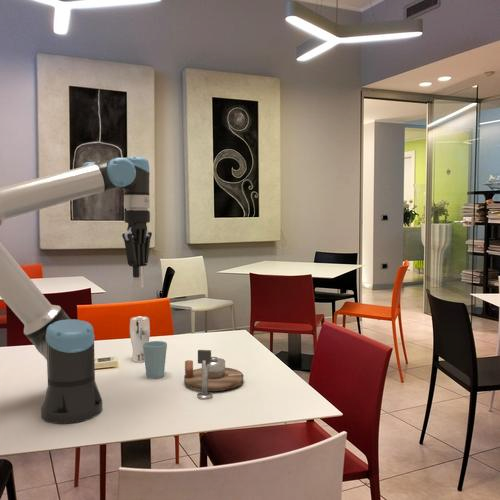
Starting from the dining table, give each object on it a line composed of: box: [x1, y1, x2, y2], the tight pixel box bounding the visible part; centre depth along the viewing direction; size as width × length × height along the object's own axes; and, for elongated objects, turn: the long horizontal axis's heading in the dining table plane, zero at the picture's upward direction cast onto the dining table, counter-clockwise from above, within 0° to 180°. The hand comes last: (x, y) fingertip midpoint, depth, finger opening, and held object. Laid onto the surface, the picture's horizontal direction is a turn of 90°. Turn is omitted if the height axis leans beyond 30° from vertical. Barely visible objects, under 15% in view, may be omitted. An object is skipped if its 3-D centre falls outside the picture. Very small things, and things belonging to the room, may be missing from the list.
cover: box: [207, 356, 226, 379], centre depth 158 cm, size 7×7×6 cm
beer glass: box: [129, 315, 151, 363], centre depth 183 cm, size 7×7×15 cm
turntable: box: [183, 360, 244, 392], centre depth 158 cm, size 18×18×6 cm
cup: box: [143, 340, 168, 379], centre depth 165 cm, size 8×8×10 cm
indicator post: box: [196, 349, 213, 401], centre depth 146 cm, size 4×4×13 cm
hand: (138, 287), depth 157 cm, fingers closed
